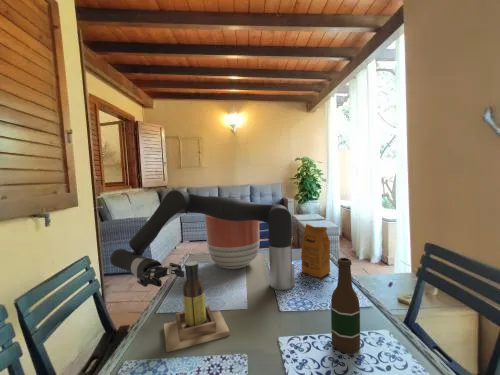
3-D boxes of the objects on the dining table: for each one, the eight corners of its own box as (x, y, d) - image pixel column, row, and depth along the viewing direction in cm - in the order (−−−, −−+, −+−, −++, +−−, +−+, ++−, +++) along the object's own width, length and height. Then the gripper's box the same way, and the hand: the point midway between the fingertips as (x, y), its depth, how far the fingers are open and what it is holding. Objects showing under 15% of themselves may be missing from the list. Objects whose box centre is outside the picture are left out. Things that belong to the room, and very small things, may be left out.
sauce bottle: (207, 320, 85) (204, 258, 84) (204, 332, 79) (201, 266, 78) (187, 320, 85) (184, 259, 84) (182, 333, 79) (179, 267, 77)
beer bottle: (326, 337, 77) (324, 255, 75) (352, 334, 78) (351, 253, 76) (337, 356, 69) (336, 265, 67) (366, 353, 70) (365, 263, 68)
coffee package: (311, 266, 131) (310, 221, 129) (333, 273, 121) (332, 225, 119) (297, 271, 125) (296, 225, 123) (319, 279, 115) (318, 229, 113)
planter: (270, 261, 139) (268, 210, 137) (241, 281, 117) (238, 220, 115) (229, 254, 154) (226, 207, 152) (196, 270, 131) (193, 215, 129)
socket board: (219, 315, 91) (219, 302, 90) (229, 335, 80) (229, 320, 79) (164, 328, 85) (163, 314, 84) (166, 352, 73) (165, 336, 73)
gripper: (126, 264, 92) (151, 275, 82) (162, 252, 103) (189, 261, 93) (127, 285, 93) (153, 298, 82) (163, 271, 104) (190, 282, 93)
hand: (172, 278), depth 88 cm, fingers open, 8 cm apart
